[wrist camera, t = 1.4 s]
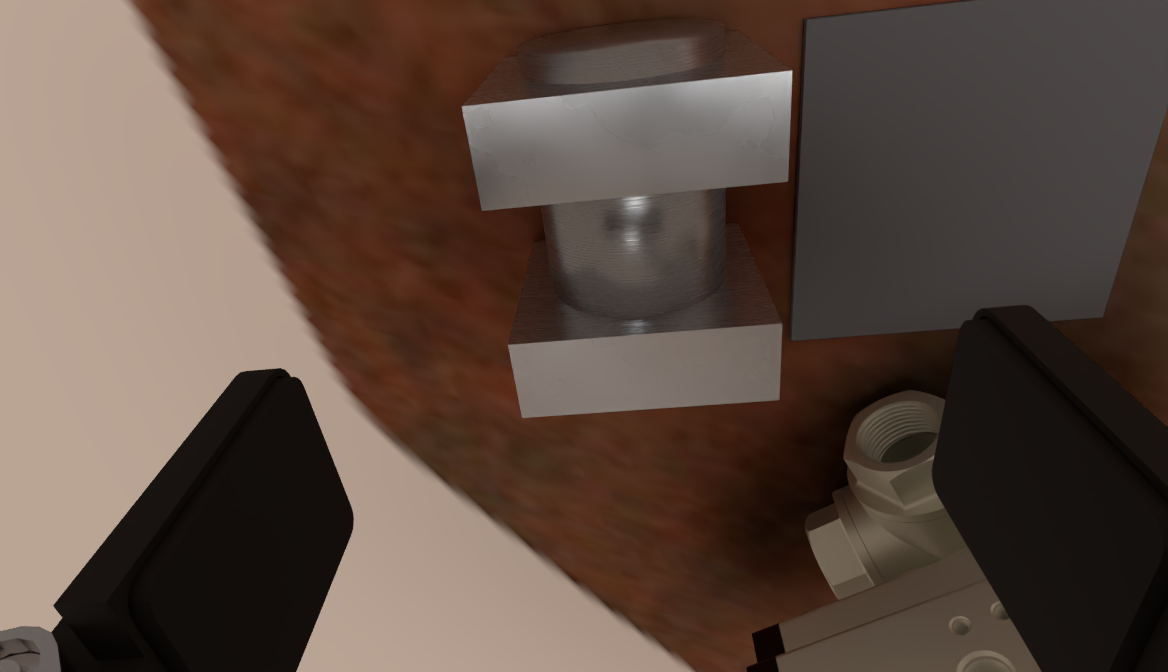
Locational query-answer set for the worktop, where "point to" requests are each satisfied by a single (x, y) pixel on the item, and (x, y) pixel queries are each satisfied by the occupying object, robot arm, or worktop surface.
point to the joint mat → (971, 160)
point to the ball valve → (894, 566)
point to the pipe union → (636, 212)
